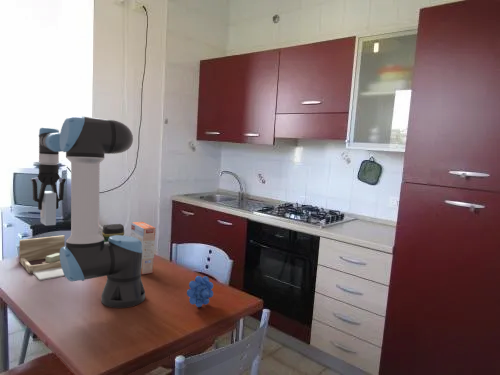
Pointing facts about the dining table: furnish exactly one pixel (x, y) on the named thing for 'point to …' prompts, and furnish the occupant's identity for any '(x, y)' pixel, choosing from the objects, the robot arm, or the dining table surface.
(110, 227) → the coffee jar
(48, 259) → the offcut
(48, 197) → the white rectangular box
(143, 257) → the cracker box
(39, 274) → the mat
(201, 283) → the blue knobbly flower shape
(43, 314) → the dining table surface
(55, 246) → the rack
